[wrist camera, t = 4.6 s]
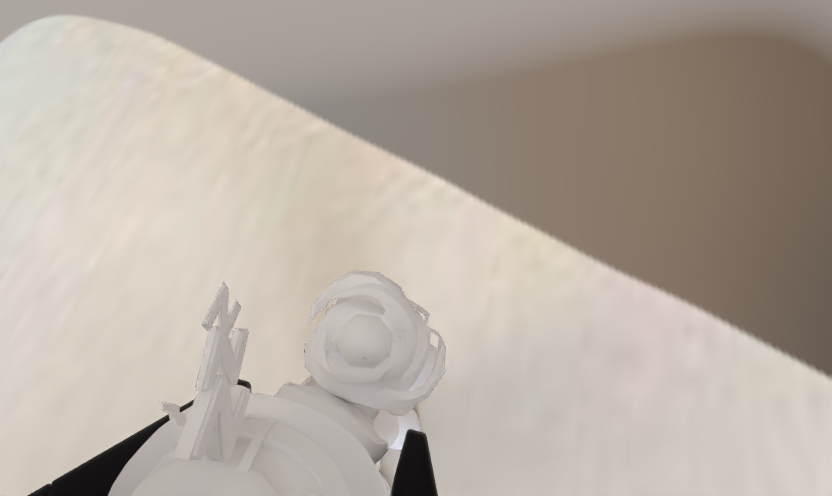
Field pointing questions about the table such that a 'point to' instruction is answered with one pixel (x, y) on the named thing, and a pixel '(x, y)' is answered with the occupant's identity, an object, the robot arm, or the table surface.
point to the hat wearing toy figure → (299, 404)
